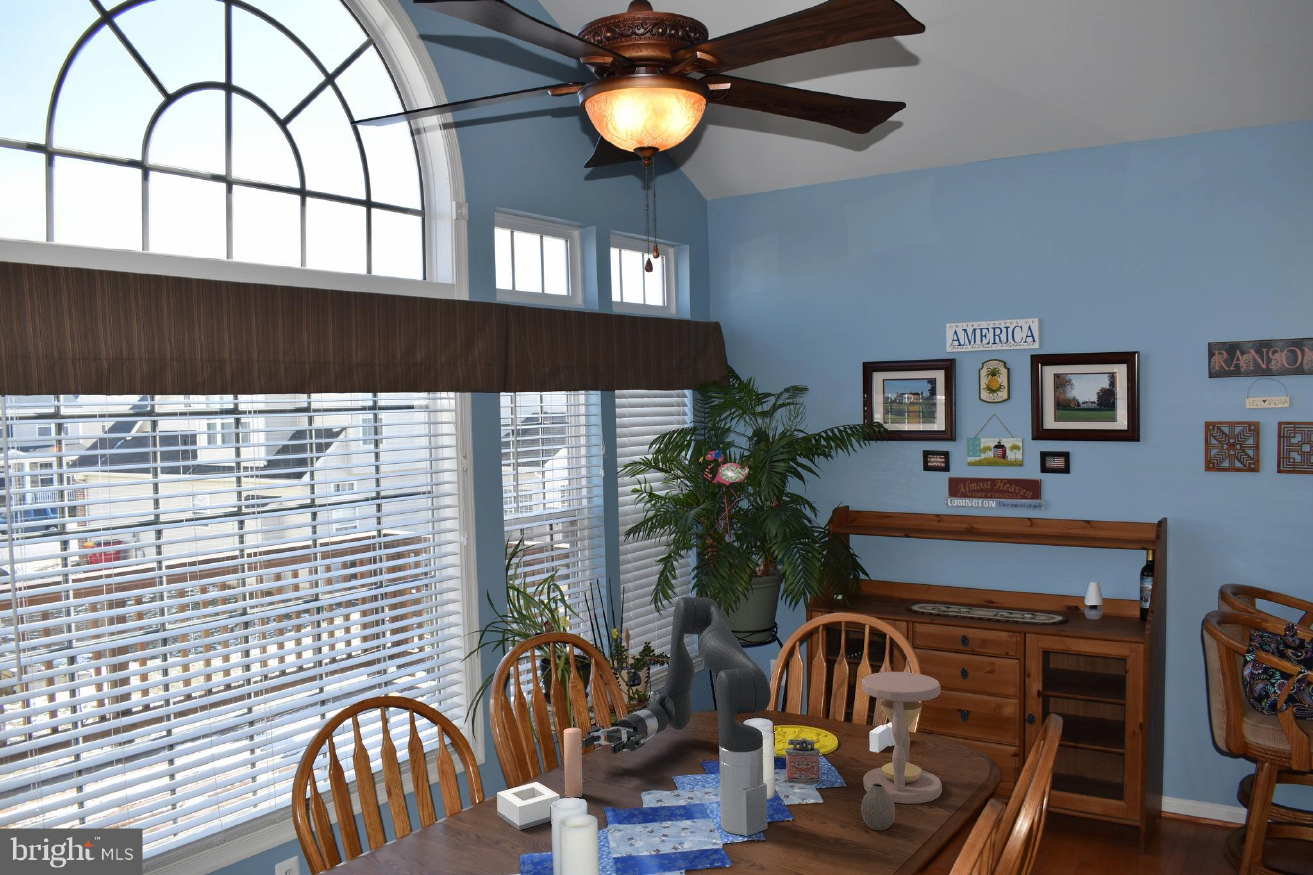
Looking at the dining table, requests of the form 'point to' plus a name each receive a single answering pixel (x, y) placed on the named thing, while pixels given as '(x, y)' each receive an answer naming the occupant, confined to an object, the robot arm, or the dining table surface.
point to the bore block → (526, 805)
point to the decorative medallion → (821, 737)
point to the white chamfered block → (881, 737)
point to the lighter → (802, 762)
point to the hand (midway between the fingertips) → (597, 746)
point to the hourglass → (902, 735)
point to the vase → (878, 808)
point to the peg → (573, 762)
